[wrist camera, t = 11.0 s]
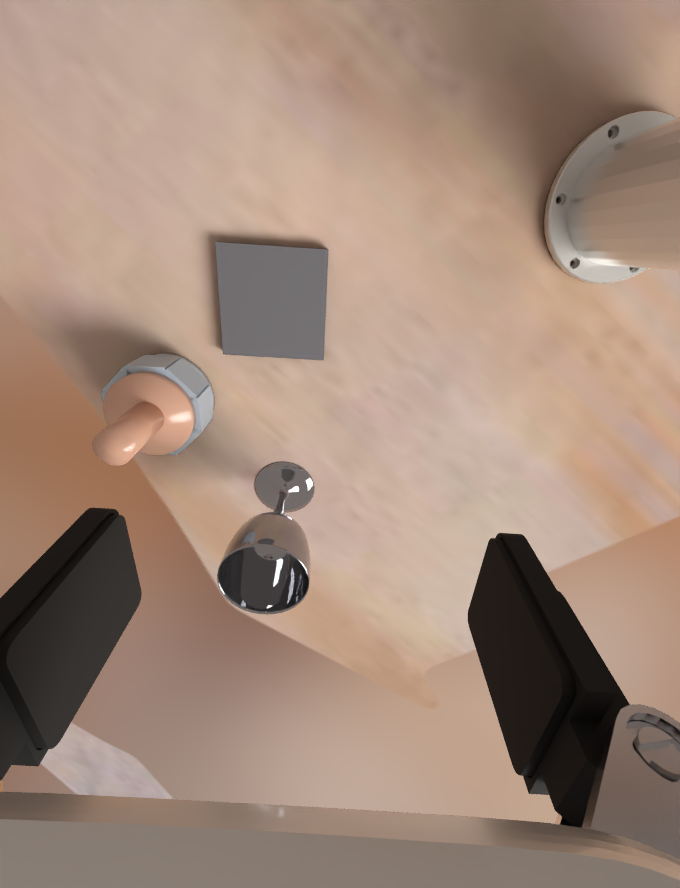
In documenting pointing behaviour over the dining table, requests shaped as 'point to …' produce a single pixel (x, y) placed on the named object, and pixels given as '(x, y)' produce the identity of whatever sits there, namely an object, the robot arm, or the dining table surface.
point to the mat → (272, 300)
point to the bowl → (184, 376)
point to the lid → (144, 418)
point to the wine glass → (270, 546)
